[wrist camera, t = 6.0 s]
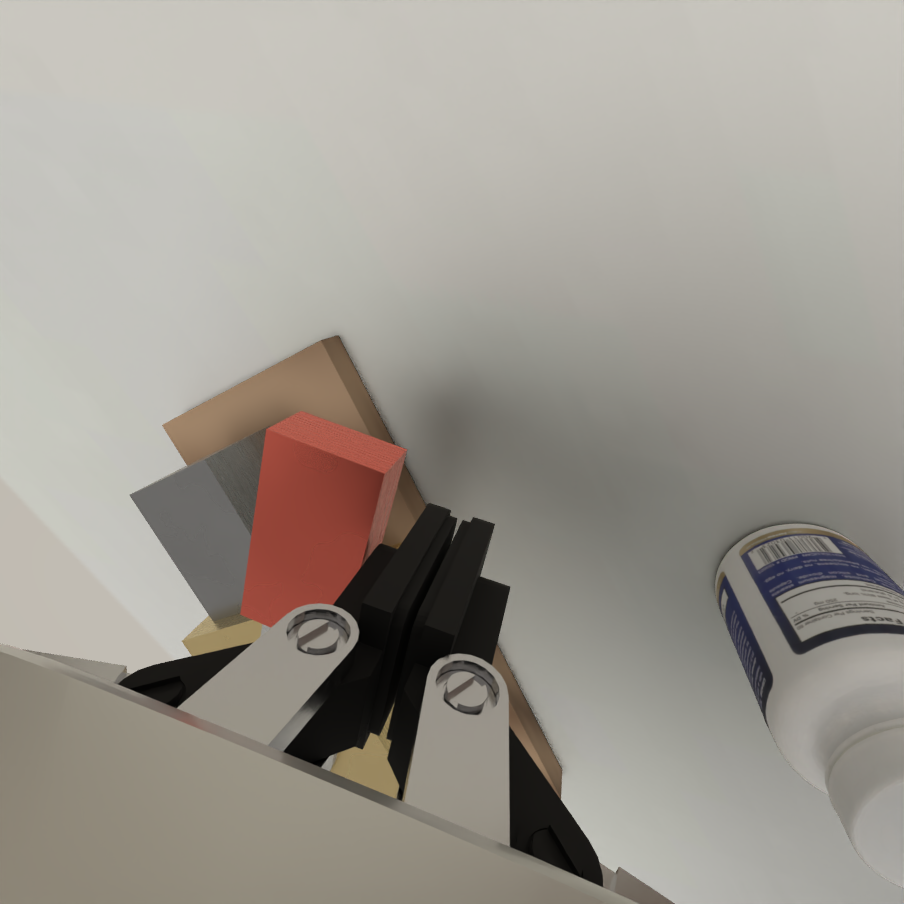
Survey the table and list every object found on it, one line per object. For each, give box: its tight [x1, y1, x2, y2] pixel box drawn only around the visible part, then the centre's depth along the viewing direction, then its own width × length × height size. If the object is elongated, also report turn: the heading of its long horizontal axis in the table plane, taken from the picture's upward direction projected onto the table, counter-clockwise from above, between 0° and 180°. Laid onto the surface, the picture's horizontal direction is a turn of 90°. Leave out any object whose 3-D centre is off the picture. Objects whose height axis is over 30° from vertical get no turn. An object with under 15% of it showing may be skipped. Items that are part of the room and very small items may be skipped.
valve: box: [130, 426, 401, 798], centre depth 20 cm, size 20×7×7 cm, turn 26°
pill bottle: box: [715, 524, 904, 888], centre depth 15 cm, size 5×5×10 cm
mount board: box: [162, 336, 562, 799], centre depth 24 cm, size 24×9×2 cm, turn 26°
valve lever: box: [240, 411, 407, 772], centre depth 14 cm, size 14×3×2 cm, turn 163°
